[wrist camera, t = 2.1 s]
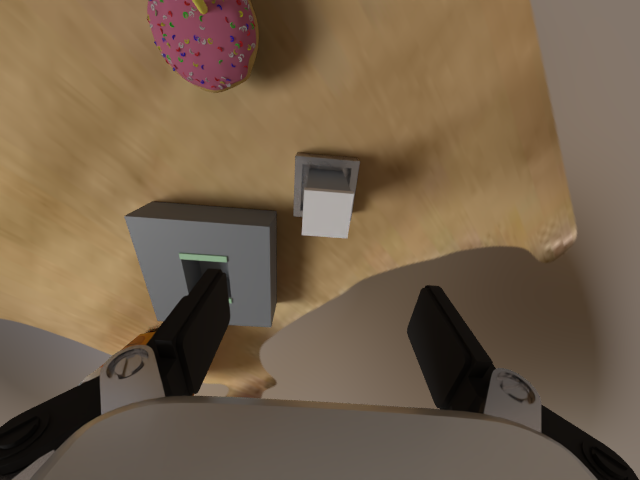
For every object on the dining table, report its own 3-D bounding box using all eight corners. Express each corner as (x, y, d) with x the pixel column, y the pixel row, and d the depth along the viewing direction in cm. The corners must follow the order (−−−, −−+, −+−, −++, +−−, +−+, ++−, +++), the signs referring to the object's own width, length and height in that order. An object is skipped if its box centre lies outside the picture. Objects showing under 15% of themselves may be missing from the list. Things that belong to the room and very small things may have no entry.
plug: (308, 167, 28) (304, 189, 20) (343, 170, 29) (354, 194, 20) (306, 201, 30) (301, 235, 22) (339, 203, 31) (347, 238, 22)
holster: (297, 152, 28) (295, 155, 26) (356, 157, 28) (360, 161, 26) (295, 209, 32) (293, 216, 29) (348, 213, 32) (350, 220, 30)
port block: (152, 201, 31) (122, 216, 26) (276, 211, 32) (269, 227, 27) (176, 296, 38) (156, 321, 34) (276, 303, 39) (270, 328, 34)
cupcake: (219, -43, 21) (114, -208, 10) (286, 51, 24) (260, 1, 13) (162, 38, 23) (30, -26, 13) (230, 113, 26) (170, 114, 16)
